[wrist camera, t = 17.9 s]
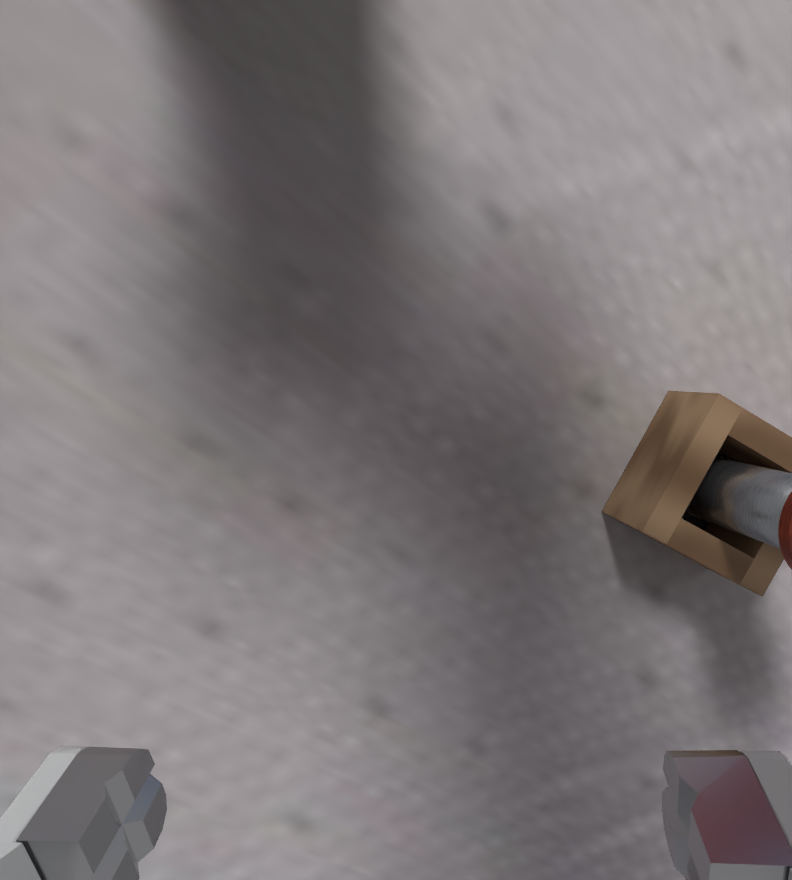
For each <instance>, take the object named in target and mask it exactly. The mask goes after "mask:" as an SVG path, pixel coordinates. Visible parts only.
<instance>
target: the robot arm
mask: <svg viewBox="0 0 792 880" xmlns="http://www.w3.org/2000/svg"><path fill="white" fill-rule="evenodd" d="M154 765H155V763H154V761H153V759H152V757H151V754H150V752H149V750H148V749H134V748H108V747H69V746H61V747H59V748H58V749H56V750H54V751H53V752H51V753H50V754H49V755H48V757H47V758H46V759H45V761H44V762H43V763H42V764H41V766H40V767H39V768H38V770H37V771H36V772H35V774H34V775H33V776H32V778H31V779H30V780H29V782H28V783H27V784H26V785H25V787H24V788H23V789H22V791H21V792H20V793H19V795H18V796H17V797H16V799H15V800H14V801H13V802H12V804H11V805H10V806H9V808H8V809H7V810H6V812H5V813H4V814H3V816H2V817H1V818H0V880H139V869H138V862H139V861H140V860H141V859H142V858H143V857H144V856H146V855H147V854H148V853H149V852H150V851H151V850H152V849H154V847H155V845H156V842H157V840H158V838H159V836H160V834H161V832H162V829H163V825H164V820H165V815H166V811H167V804H166V793H165V791H164V788H163V785H162V783H161V782H159V781H158V780H157V779H156V778H155V777H153V776H152V775H151V774H150V772H151V770H152V768H153V767H154ZM663 770H664V773H665V776H666V779H667V782H668V787H667V788H666V789H665V790H664V791H663V792H662V813H663V821H664V830H665V834H666V838H667V843H668V847H669V851H670V854H671V857H672V861H673V864H674V867H675V868H676V869H677V870H678V871H679V872H680V873H681V874H682V875H683V876H684V877H685V878H686V880H792V766H791V764H790V762H789V761H788V759H787V757H785V756H784V755H783V754H782V753H781V752H780V751H740V752H739V751H737V750H716V751H666V754H665V756H664V766H663Z"/></svg>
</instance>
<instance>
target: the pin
mask: <svg viewBox="0 0 792 880" xmlns="http://www.w3.org/2000/svg"><path fill="white" fill-rule="evenodd" d="M685 513H687V514H690V515H692V516H695V517H698V518H700V519H703V520H706V521H708V522H711V523H713V524H716V525H719V526H721V527H724V528H727V529H729V530H732V531H734V532H737V533H740V534H742V535H745V536H748V537H750V538H753V539H755V540H758V541H761V542H763V543H766V544H769V545H771V546H774V547H776V548H779V549H781V552H782V554H783V557H784V559H785V561H786V562H787V564H788V566H789V567H790V568H791V569H792V473H788V472H783V471H779V470H774V469H769V468H764V467H760V466H755V465H750V464H746V463H741V462H736V461H731V460H727V459H722V458H717V457H715V459H714V460H713V462H712V464H711V466H710V468H709V469H708V471H707V473H706V475H705V476H704V478H703V480H702V482H701V484H700V485H699V487H698V489H697V491H696V493H695V494H694V496H693V498H692V500H691V501H690V503H689V505H688V507H687V509H686V510H685Z"/></svg>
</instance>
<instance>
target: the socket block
mask: <svg viewBox="0 0 792 880" xmlns="http://www.w3.org/2000/svg"><path fill="white" fill-rule="evenodd" d="M718 451H719V452H720V453H722V454H724V455H726V456H727V457H729V458H731V459H732V460H734V461H736V462H741V463H746V464H750V465H755V466H760V467H764V468H769V469H774V470H779V471H783V472H788V473H792V437H790V436H788V435H787V434H785V433H783V432H782V431H780V430H778V429H777V428H775V427H774V426H772V425H770V424H769V423H767V422H765V421H764V420H762V419H760V418H759V417H757V416H755V415H754V414H752V413H750V412H749V411H747V410H745V409H744V408H742V407H740V406H739V405H737V404H735V403H734V402H732V401H730V400H729V399H727V398H726V397H724V396H722V395H721V394H718V393H698V392H679V391H668V393H667V395H666V397H665V398H664V400H663V402H662V404H661V406H660V407H659V409H658V411H657V413H656V415H655V416H654V418H653V420H652V422H651V424H650V425H649V427H648V429H647V431H646V433H645V434H644V436H643V438H642V440H641V442H640V443H639V445H638V447H637V449H636V451H635V453H634V454H633V456H632V458H631V460H630V462H629V463H628V465H627V467H626V469H625V471H624V472H623V474H622V476H621V478H620V480H619V481H618V483H617V485H616V487H615V489H614V490H613V492H612V494H611V496H610V498H609V499H608V501H607V503H606V505H605V507H604V509H603V510H602V512H603V513H605V514H607V515H609V516H611V517H613V518H615V519H616V520H618V521H620V522H622V523H624V524H626V525H627V526H629V527H631V528H633V529H635V530H637V531H639V532H640V533H642V534H644V535H646V536H648V537H650V538H652V539H653V540H655V541H657V542H659V543H661V544H663V545H664V546H666V547H668V548H670V549H672V550H674V551H676V552H677V553H679V554H681V555H683V556H685V557H687V558H689V559H690V560H692V561H694V562H696V563H698V564H700V565H701V566H703V567H705V568H707V569H709V570H711V571H713V572H715V573H717V574H719V575H721V576H723V577H725V578H727V579H729V580H731V581H733V582H735V583H737V584H739V585H741V586H743V587H745V588H747V589H749V590H751V591H753V592H755V593H757V594H759V595H760V596H762V597H763V595H764V593H765V591H766V590H767V588H768V586H769V584H770V583H771V581H772V579H773V577H774V575H775V574H776V572H777V570H778V568H779V567H780V565H781V563H782V561H783V560H784V557H783V554H782V552H781V549H779V548H776V547H774V546H771V545H769V544H766V543H763V542H761V541H758V540H755V539H753V538H750V537H748V536H745V535H742V534H740V533H737V532H734V531H732V530H729V529H727V528H724V527H721V526H719V525H716V524H713V523H711V522H709V524H708V525H707V527H706V529H705V531H703V530H702V529H700V528H698V527H696V526H694V525H693V524H691V523H689V522H687V521H685V520H684V519H682V516H683V514H684V512H685V510H686V509H687V507H688V505H689V503H690V501H691V500H692V498H693V496H694V494H695V493H696V491H697V489H698V487H699V485H700V484H701V482H702V480H703V478H704V476H705V475H706V473H707V471H708V469H709V468H710V466H711V464H712V462H713V460H714V459H715V457H716V455H717V453H718Z"/></svg>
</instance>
